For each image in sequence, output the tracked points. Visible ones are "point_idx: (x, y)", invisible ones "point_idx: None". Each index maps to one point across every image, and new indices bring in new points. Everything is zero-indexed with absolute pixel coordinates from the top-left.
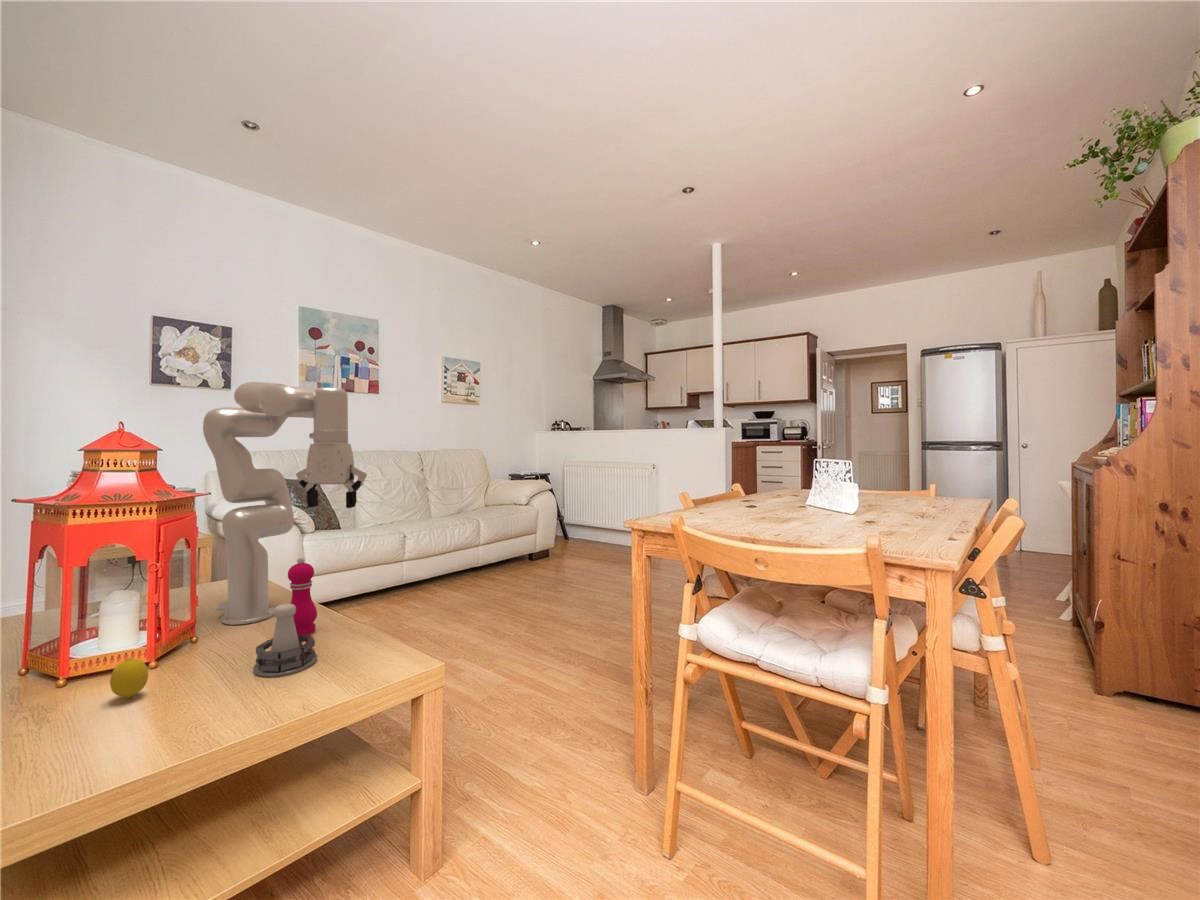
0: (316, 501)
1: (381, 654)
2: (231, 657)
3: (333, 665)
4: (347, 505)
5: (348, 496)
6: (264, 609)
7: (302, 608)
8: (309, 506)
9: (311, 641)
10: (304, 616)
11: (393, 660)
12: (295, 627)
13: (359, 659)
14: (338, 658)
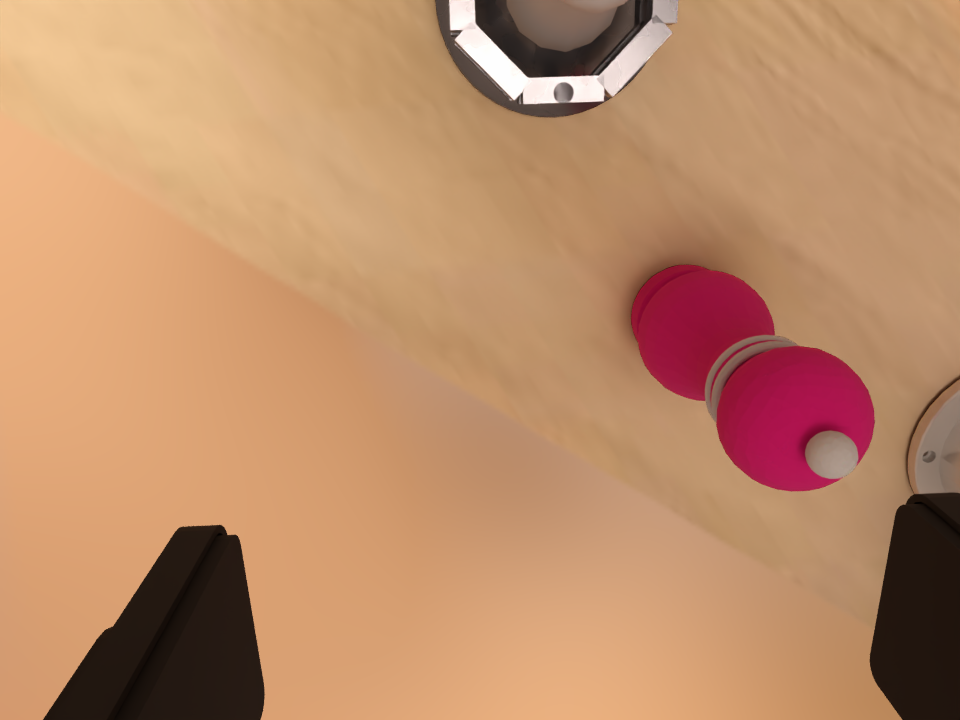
0: (917, 694)
1: (213, 136)
2: (826, 43)
3: (347, 7)
4: (187, 540)
5: (85, 678)
6: (952, 462)
7: (691, 312)
8: (927, 494)
9: (458, 18)
10: (667, 297)
11: (125, 81)
12: (542, 3)
13: (275, 77)
14: (369, 78)
